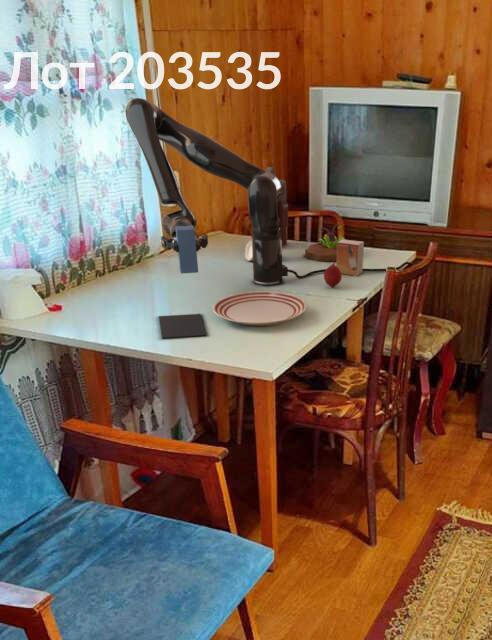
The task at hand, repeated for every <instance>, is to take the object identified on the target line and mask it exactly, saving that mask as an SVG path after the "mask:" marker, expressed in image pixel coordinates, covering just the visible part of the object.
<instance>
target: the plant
mask: <svg viewBox="0 0 492 640" xmlns="http://www.w3.org/2000/svg"><path fill="white" fill-rule="evenodd" d="M336 228H337V229H338V230H340V231H341V230H342V229H343V226H342V225H341V224H335V225H334V226H333V228H332V230H331V232H330V229H328V228H326V227H321V228H319V233H321V234H322V233H323V232H324V231H326V232H327V233H325V234H324V236H323V238H318V240H319V241H321V242H314V243H311V244H310V245H309V246H308V247H307V248H305V250H304V255H305V257H306V258H307V259H308V260H316V261H319V262H331V263H333V262H334V263H337V242H339V241H341V240H342V239H345V237H344V236H342V237H340V238H337V237H336V233H335V232H336Z"/></svg>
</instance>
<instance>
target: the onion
mask: <svg viewBox="0 0 492 640" xmlns="http://www.w3.org/2000/svg"><path fill="white" fill-rule="evenodd" d="M325 269H326V270H325V272H323V280H324V282H325V283H326V285H328V286H329V287H330V288H335V287H336V286H337V285H339V284H340V282H341V281H342V277H343V275H342V273H341V271H340V270H339V268H338V267H336V262H331V264H330V265H329V266H328V267H327V268H325Z"/></svg>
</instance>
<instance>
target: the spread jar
mask: <svg viewBox="0 0 492 640" xmlns="http://www.w3.org/2000/svg"><path fill="white" fill-rule="evenodd" d="M280 246H281V254H282V255H283V247H282V239H281V236H280ZM244 248H245V249H244V257H245V260H246V261H248V262H249V261H250V262H253V252H252V240H250V241H248V242H247V243H246V245H245V247H244Z"/></svg>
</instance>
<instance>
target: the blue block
mask: <svg viewBox="0 0 492 640" xmlns="http://www.w3.org/2000/svg"><path fill="white" fill-rule="evenodd" d="M175 228H176V237H177V243H178V249H179V252H177V256H178V266H179V271H180V274H198V273H199V264H198V253H197V252H198V251H196V241H195V232H196V229H194V227H193V226H175Z"/></svg>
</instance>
